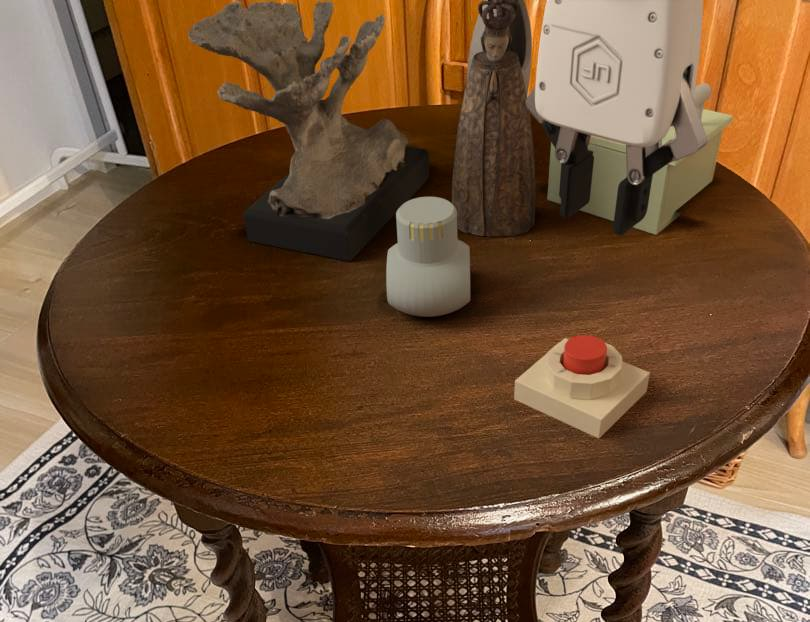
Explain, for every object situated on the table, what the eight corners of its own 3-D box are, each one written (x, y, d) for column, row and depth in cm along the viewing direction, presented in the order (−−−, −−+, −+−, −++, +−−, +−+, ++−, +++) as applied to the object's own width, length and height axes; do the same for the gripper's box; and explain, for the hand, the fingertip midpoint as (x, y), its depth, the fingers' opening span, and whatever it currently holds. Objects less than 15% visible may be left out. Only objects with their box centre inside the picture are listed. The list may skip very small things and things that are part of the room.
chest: (710, 190, 102) (724, 122, 96) (656, 235, 96) (667, 166, 90) (604, 159, 109) (611, 95, 103) (547, 199, 103) (551, 133, 97)
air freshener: (393, 274, 94) (386, 184, 86) (469, 271, 93) (468, 181, 86) (388, 332, 87) (380, 240, 79) (470, 330, 86) (470, 237, 79)
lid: (731, 122, 96) (741, 74, 92) (674, 166, 90) (683, 116, 86) (611, 94, 103) (616, 49, 99) (551, 133, 97) (554, 86, 93)
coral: (334, 279, 94) (304, 68, 78) (186, 244, 101) (131, 44, 85) (435, 178, 108) (428, -17, 92) (299, 154, 115) (271, -32, 99)
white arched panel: (511, 186, 106) (516, 15, 92) (454, 182, 107) (451, 14, 93) (537, 122, 117) (545, -38, 103) (486, 119, 119) (487, -39, 105)
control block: (646, 392, 78) (653, 355, 75) (598, 439, 74) (603, 402, 71) (563, 356, 82) (566, 321, 79) (513, 399, 78) (515, 363, 75)
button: (612, 360, 76) (615, 344, 74) (590, 381, 74) (592, 364, 73) (577, 346, 77) (579, 329, 76) (554, 366, 76) (556, 349, 74)
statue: (474, 249, 96) (474, -4, 78) (444, 220, 101) (438, -25, 82) (542, 229, 98) (557, -23, 80) (509, 201, 103) (517, -42, 84)
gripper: (484, -69, 54) (482, 208, 68) (733, -31, 46) (674, 274, 60) (552, -98, 58) (537, 171, 71) (794, -67, 50) (726, 229, 63)
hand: (600, 216), depth 65 cm, fingers open, 4 cm apart
